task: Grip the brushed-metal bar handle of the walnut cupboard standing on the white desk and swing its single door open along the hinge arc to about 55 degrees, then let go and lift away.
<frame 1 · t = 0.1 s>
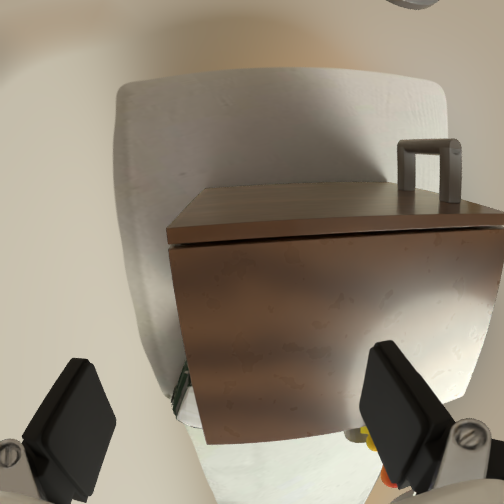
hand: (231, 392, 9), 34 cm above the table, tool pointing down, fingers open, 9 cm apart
door: (327, 168, 29), point 12 cm above the table, hinge at 0.0°
miniature car: (207, 372, 50), on the table
cupboard: (303, 254, 45), on the table
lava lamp: (345, 363, 51), on the table
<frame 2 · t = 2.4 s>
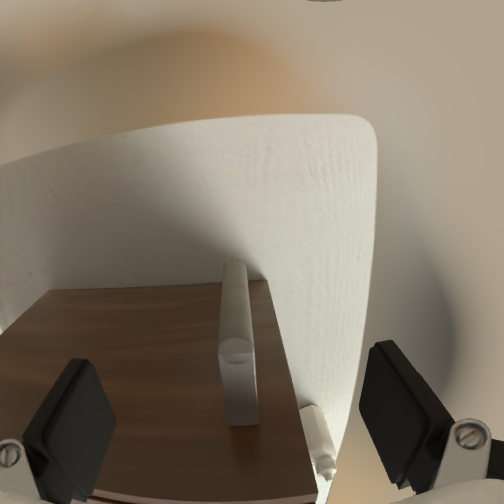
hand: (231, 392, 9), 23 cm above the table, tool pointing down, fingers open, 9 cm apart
eye dropper bottle: (311, 415, 40), on the table
door: (98, 322, 20), point 12 cm above the table, hinge at 0.0°
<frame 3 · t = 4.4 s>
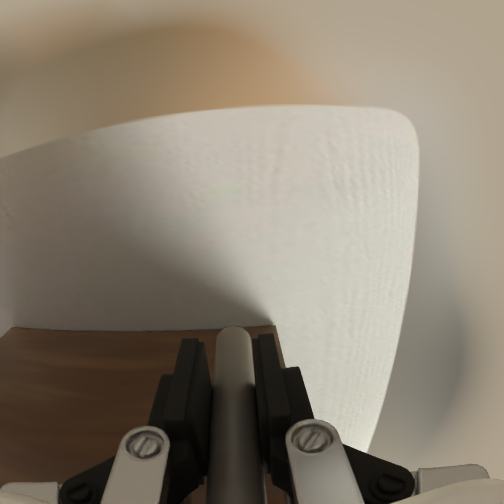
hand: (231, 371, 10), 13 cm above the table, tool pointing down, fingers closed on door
door: (46, 405, 12), point 12 cm above the table, hinge at 0.0°, touching gripper
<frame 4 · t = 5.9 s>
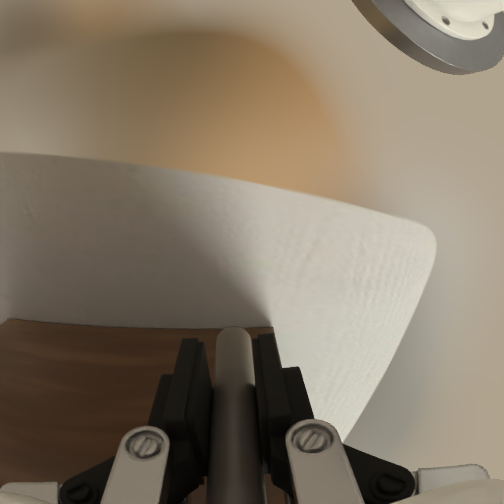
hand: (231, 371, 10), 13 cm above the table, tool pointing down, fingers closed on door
door: (42, 398, 12), point 12 cm above the table, hinge at 13.0°, touching gripper
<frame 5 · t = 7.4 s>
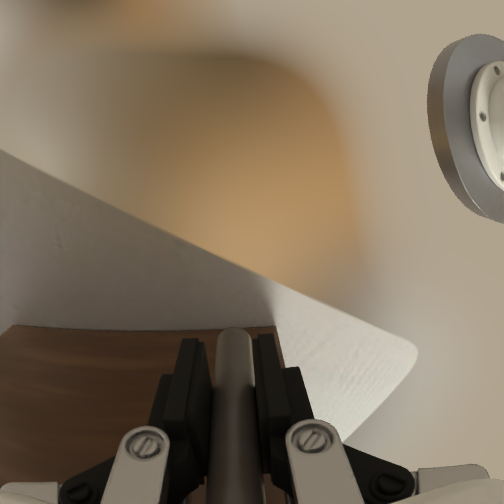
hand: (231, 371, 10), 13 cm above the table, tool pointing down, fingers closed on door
door: (46, 403, 12), point 12 cm above the table, hinge at 30.5°, touching gripper
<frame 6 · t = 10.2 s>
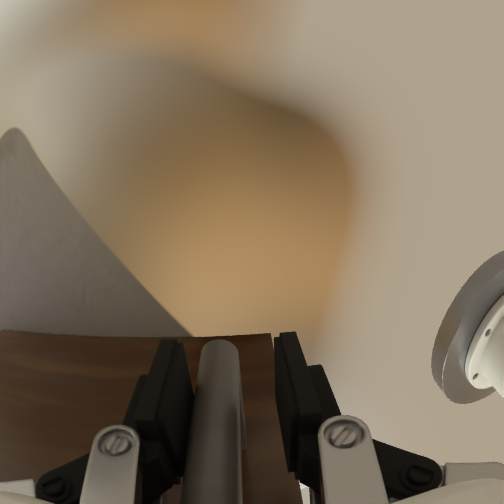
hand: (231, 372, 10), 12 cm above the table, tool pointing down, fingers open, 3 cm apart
door: (26, 414, 11), point 12 cm above the table, hinge at 54.7°
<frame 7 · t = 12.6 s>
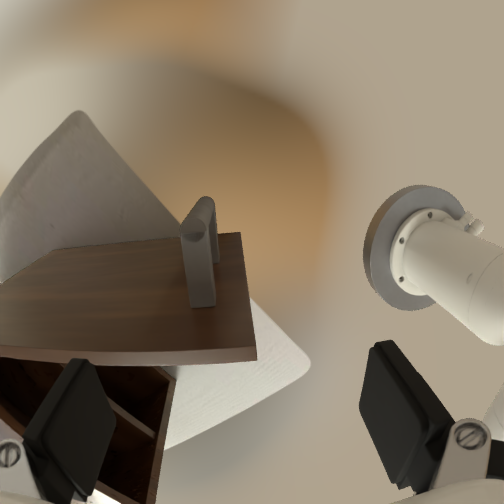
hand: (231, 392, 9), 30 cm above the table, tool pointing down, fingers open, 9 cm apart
door: (95, 251, 25), point 12 cm above the table, hinge at 54.7°
cupboard: (81, 352, 42), on the table
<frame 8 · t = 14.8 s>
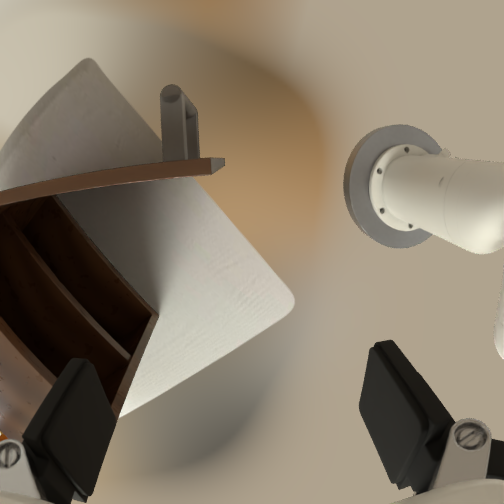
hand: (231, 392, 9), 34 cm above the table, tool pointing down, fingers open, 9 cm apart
door: (90, 149, 27), point 12 cm above the table, hinge at 54.7°
cupboard: (69, 285, 44), on the table
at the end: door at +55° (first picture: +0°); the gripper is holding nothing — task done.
